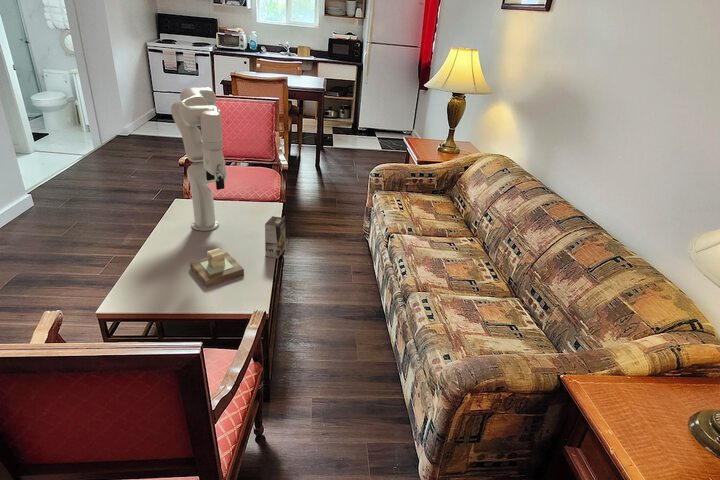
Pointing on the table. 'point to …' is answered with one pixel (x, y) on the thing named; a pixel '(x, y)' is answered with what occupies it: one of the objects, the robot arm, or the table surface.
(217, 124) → the robot arm
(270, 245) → the coffee box
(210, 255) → the maple block
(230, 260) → the walnut base
